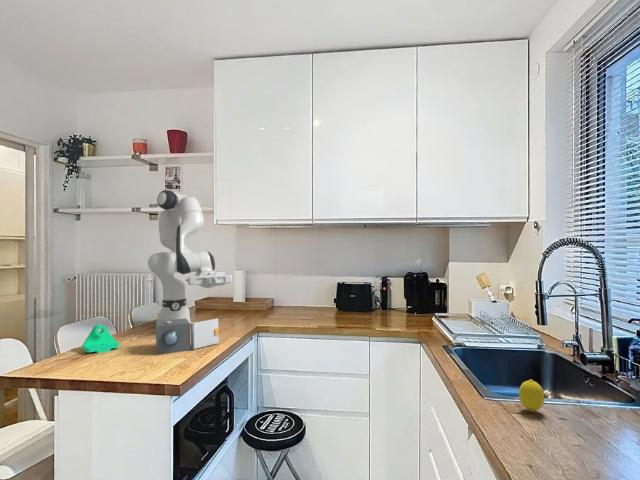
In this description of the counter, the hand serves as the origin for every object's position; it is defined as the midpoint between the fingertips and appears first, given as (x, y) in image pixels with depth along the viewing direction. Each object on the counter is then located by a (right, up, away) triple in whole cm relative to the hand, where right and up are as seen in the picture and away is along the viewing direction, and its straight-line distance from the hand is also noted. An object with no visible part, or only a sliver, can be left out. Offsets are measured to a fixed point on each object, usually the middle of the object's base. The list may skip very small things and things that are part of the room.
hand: (213, 280), depth 181 cm
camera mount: (-41, -27, -19) cm, 52 cm away
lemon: (+101, -25, -82) cm, 133 cm away
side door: (+1, -26, -16) cm, 30 cm away
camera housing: (-11, -26, -19) cm, 34 cm away
